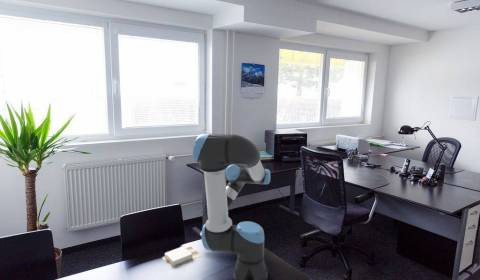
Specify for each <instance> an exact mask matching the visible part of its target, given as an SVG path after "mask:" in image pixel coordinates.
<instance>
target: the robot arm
mask: <svg viewBox="0 0 480 280" xmlns="http://www.w3.org/2000/svg"><path fill="white" fill-rule="evenodd" d="M192 148H193V149H192V160H193V162H194V163H196V164H199V169H200V171H201V172H203V177H204V186H205V187H204V188H205V196H206V197H205V198H206V208H207V215H206V217H205V219H204V221H205V224H203V226H202V229H201V232H200V233H199V235H200V237H201V243H202V246H203V248H204V250H207V251H211V252H219V253H226V254H235V255H237V257H236V258H237V259H236V261H235V264H234V265H235V266H234V267H233V271H232V273H233V279H234V280H268V278H269V277H268V273H269V272H268V267H267V265H266V261H265V231H264V229H263V227H262V226H261V225H260V224H258V223H256V222H253V221H248V220H247V221H246V220H245V221H241V222H239V223H237V225H235V224H233V220H232V219H231V217H229V215H230V212H229V210H228V208H229V207H230V208H231V206H232V204H233V202H234V201H235V199H236V197H237V196H238V195H239V193H240V192H241V191H242V188H243V187H244V186H245V184H254V185H256V184H257V185H269V184H270V183H271V170H270V169H268V168H264V166H263V164H262V162H261V153H260V150H259V148H258V146H257V145H256V144H255V143H254V142H253V141H251V140H250V139H249V138H246V137H244V136H242V135H241V134H240V135H239V134H233V133H232V134H227V133H226V134H224V133H223V134H222V133H221V134H220V133H201V134H199V135H198V136H197V137H196V139H195V141H194V145H193V147H192ZM238 165H239V166H241V167H239V166H238ZM226 178H227V179H226ZM227 180H228V183H227Z"/></svg>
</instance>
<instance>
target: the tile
mask: <svg viewBox="0 0 480 280" xmlns="http://www.w3.org/2000/svg"><path fill="white" fill-rule="evenodd" d="M186 248H187V247H185V246H184V245H182V246H180V247H177V248H175V249H172V250H168V251H166V252H165V253H164V257H165V258H166V259H167V260H168V261H169V262H170V263H171V264H172V265H173V266H175V265H178V264H180V263H183V262H185V261H187V260H190V259H192V253H191V252H190V251H188V250H187V249H186Z"/></svg>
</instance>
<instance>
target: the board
mask: <svg viewBox="0 0 480 280" xmlns="http://www.w3.org/2000/svg"><path fill="white" fill-rule="evenodd" d="M185 248H186V249H187V250H188V251H190V252H191V253H192V259H190V260H187V261H185V262H183V263H180V264H178V265H175V266H173V265H172V264H171V263H170V262H169V261H168V260H167V259H166V258H165V256H162V257H161V259H162V260H163V261H164V262H165V263H166V264H168V266H169V267H171V269H174V268H176V267H178V266H182V265H184V264H187V263H189V262H190V261H193V260H196V259H198V258H200V257H202V256H203V255H202V253H201V254H200V253H199V252H198V251H197V250H195V248H193V247H192V246H189V247H185Z"/></svg>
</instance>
